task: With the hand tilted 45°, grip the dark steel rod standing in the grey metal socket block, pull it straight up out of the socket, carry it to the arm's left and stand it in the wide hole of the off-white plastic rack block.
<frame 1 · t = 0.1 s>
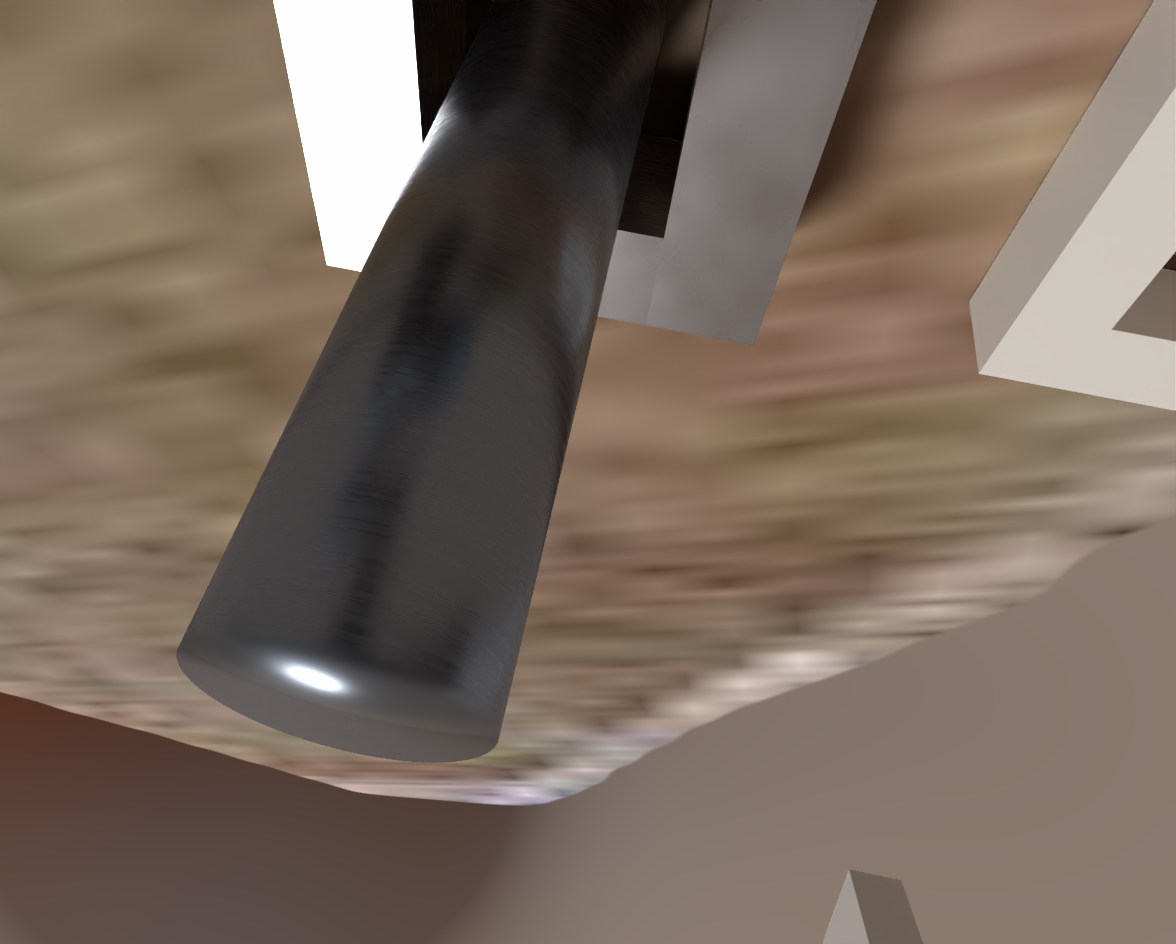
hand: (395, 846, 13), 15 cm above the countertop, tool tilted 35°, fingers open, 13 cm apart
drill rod: (502, 244, 13), in the socket block
socket block: (584, 11, 18), on the countertop
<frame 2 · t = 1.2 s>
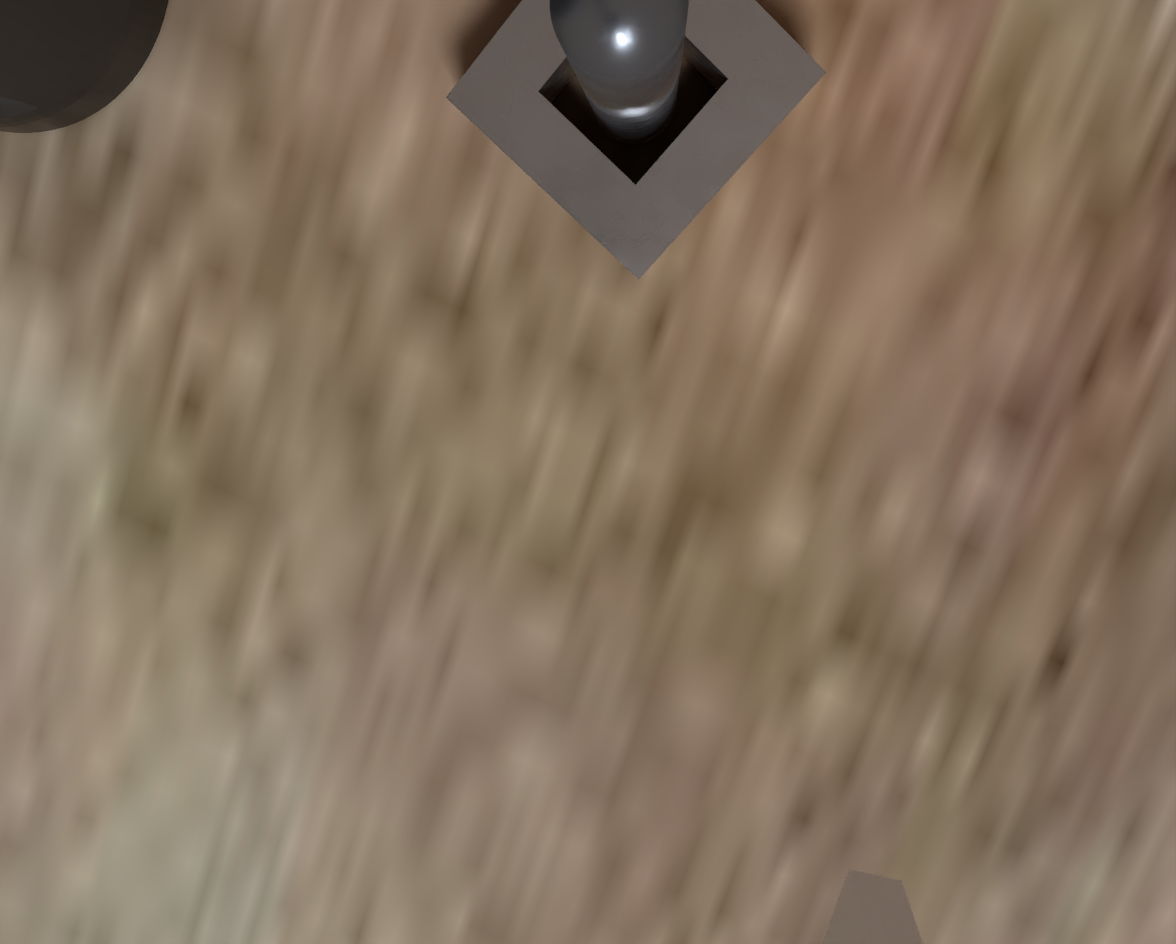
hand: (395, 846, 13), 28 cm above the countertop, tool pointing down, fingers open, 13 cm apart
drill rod: (628, 63, 28), in the socket block
socket block: (634, 99, 35), on the countertop
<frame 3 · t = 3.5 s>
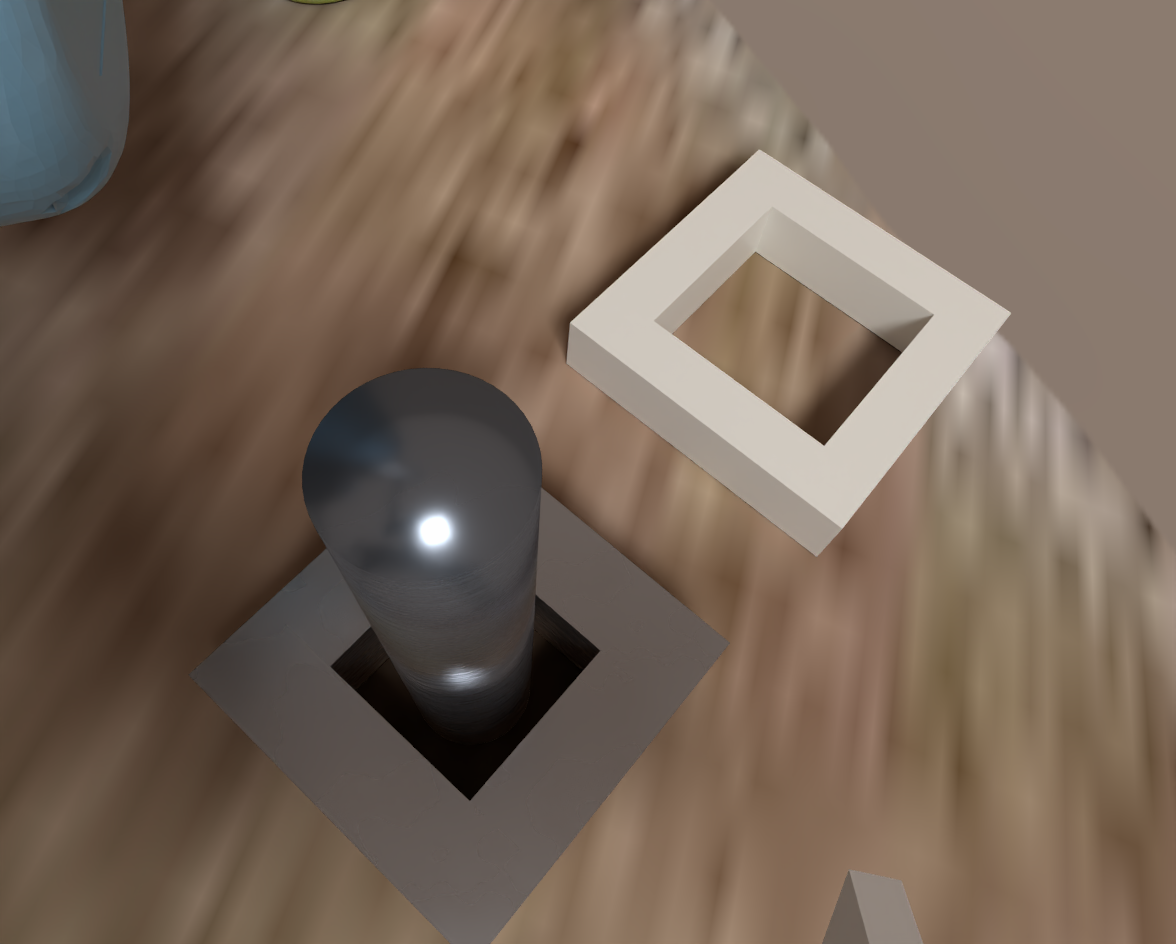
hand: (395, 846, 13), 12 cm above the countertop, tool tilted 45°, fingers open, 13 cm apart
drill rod: (457, 615, 19), in the socket block
rack block: (776, 357, 32), on the countertop
socket block: (473, 686, 26), on the countertop
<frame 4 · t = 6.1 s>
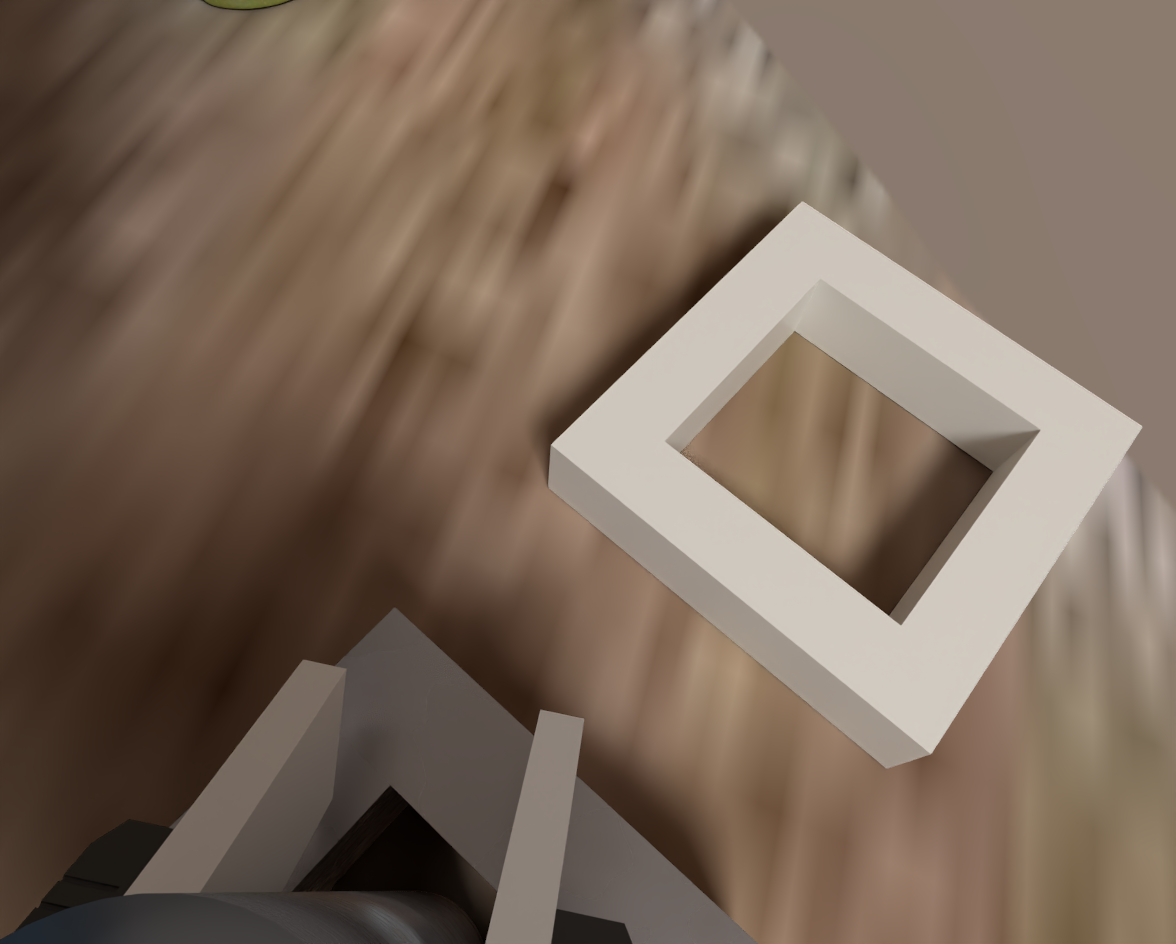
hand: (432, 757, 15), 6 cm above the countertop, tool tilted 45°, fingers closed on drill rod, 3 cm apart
rack block: (825, 477, 24), on the countertop
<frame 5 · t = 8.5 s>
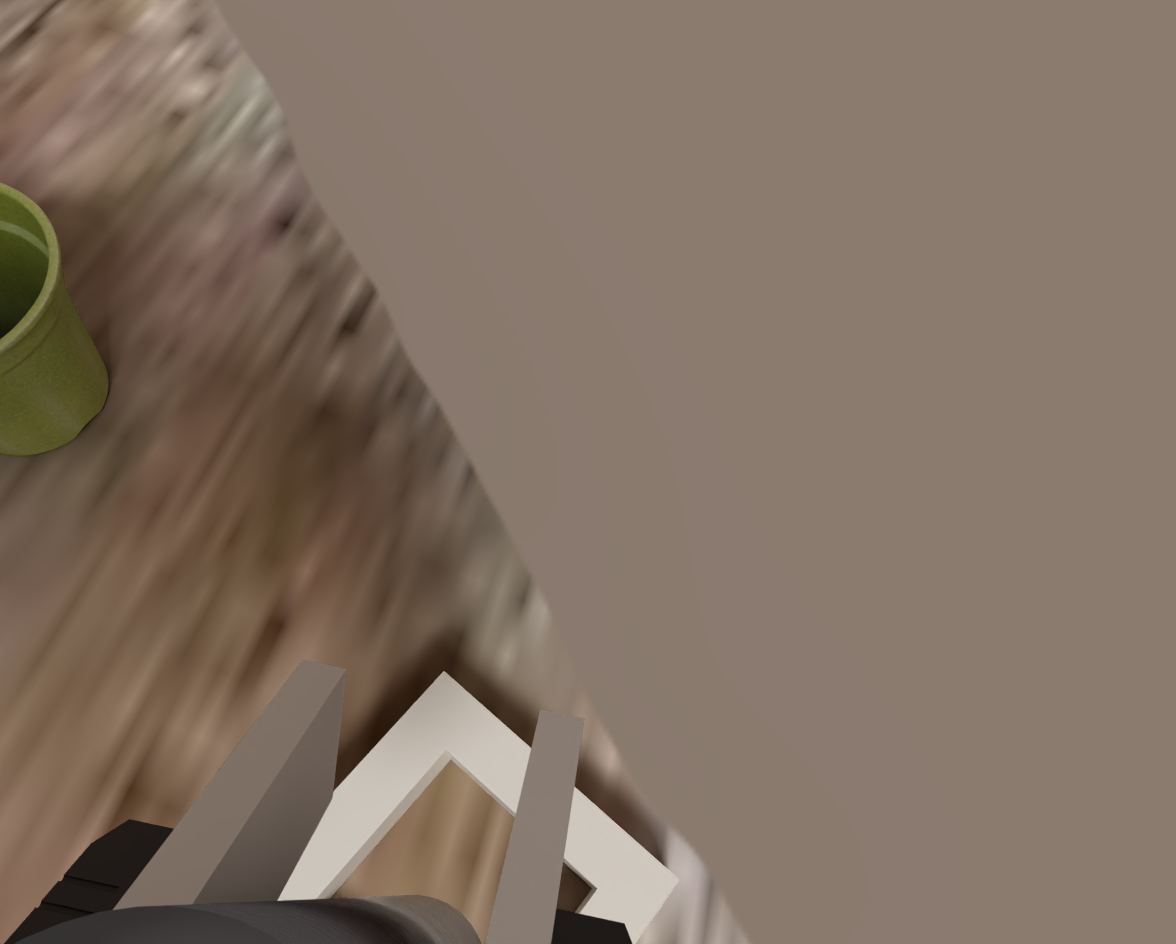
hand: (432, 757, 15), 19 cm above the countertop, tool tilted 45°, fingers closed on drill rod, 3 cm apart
plant pot: (40, 400, 39), on the countertop
rack block: (454, 903, 31), on the countertop
when the fingers open (7 cm above the countertop, at t = 11.2 s): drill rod stays where it is, resting in rack block.
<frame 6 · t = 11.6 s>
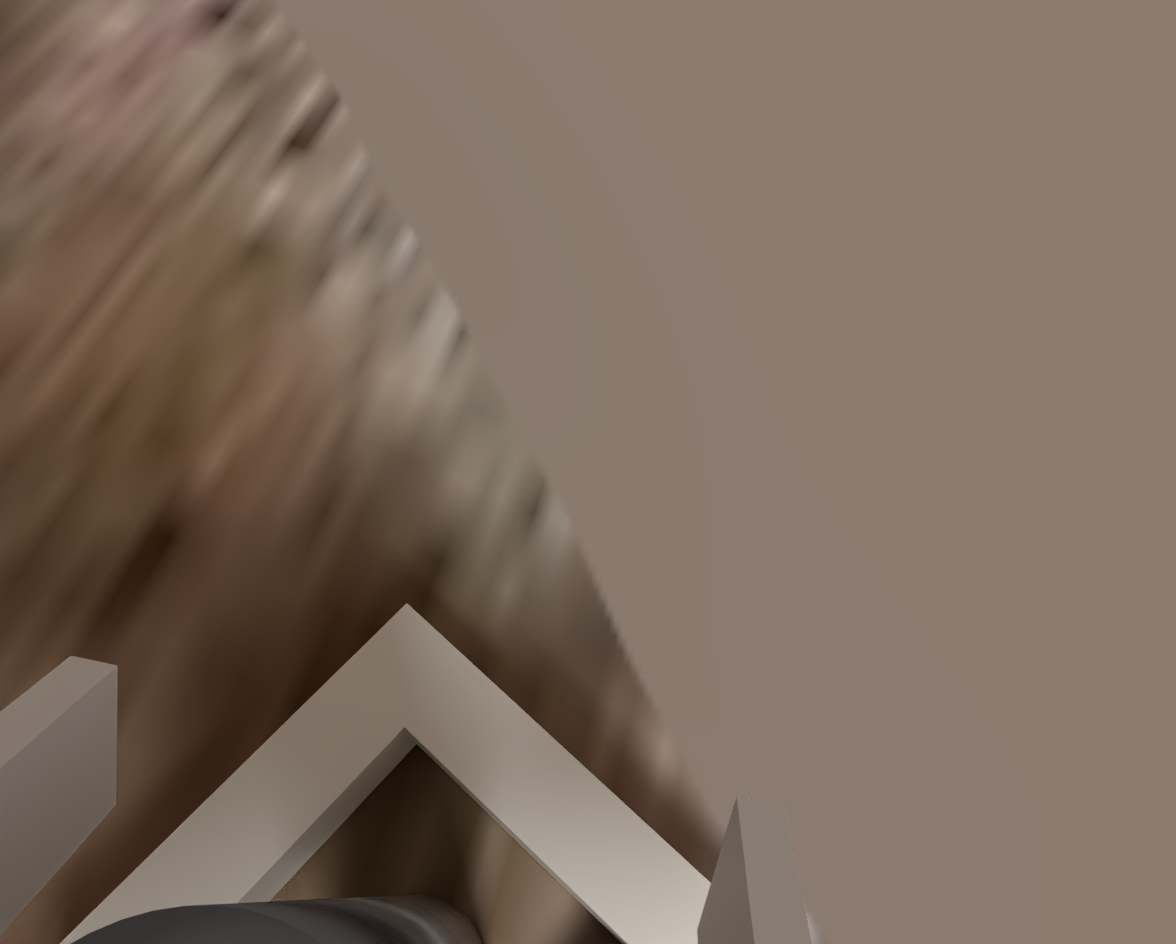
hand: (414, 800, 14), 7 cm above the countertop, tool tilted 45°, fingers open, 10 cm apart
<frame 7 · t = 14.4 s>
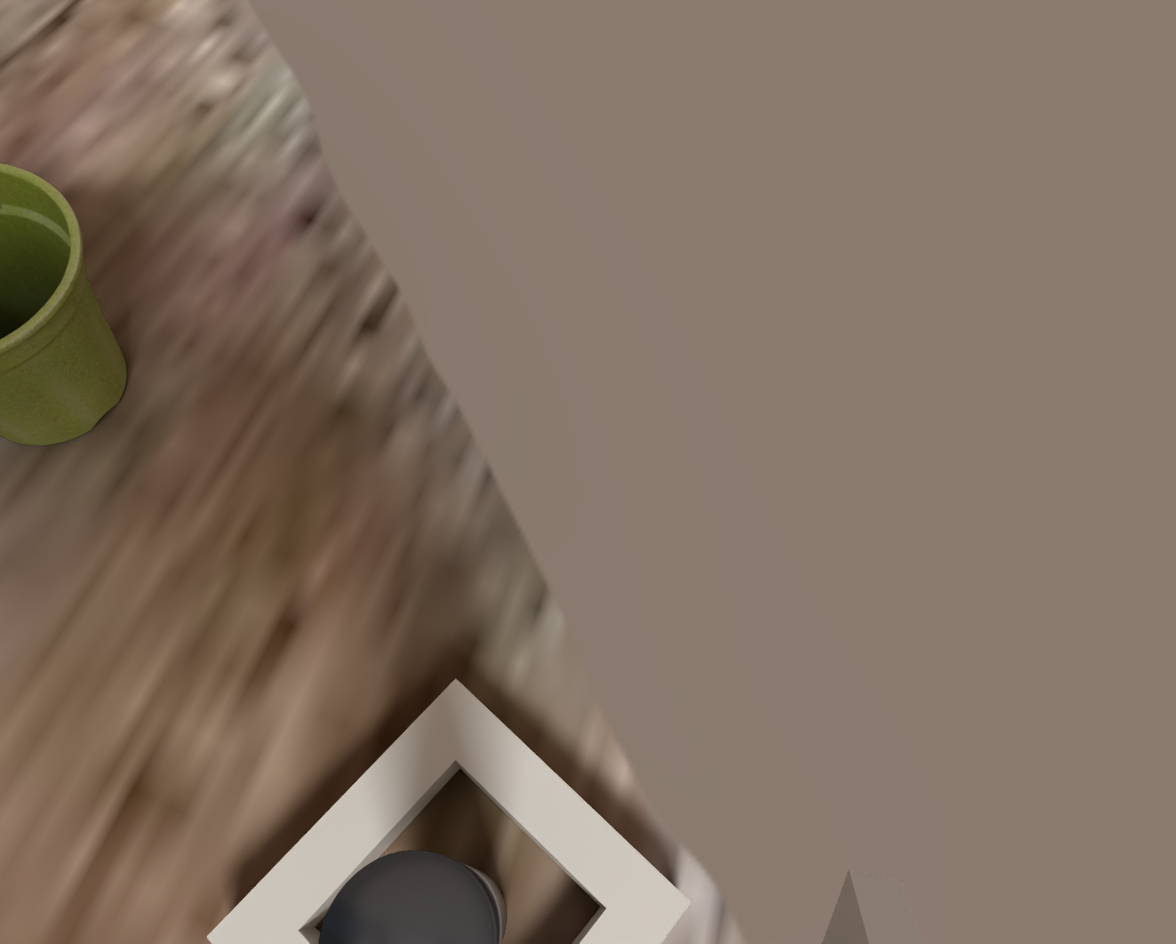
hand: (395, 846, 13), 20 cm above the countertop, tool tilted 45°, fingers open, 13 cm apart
plant pot: (58, 390, 38), on the countertop
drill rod: (439, 929, 23), in the rack block
rack block: (459, 916, 30), on the countertop
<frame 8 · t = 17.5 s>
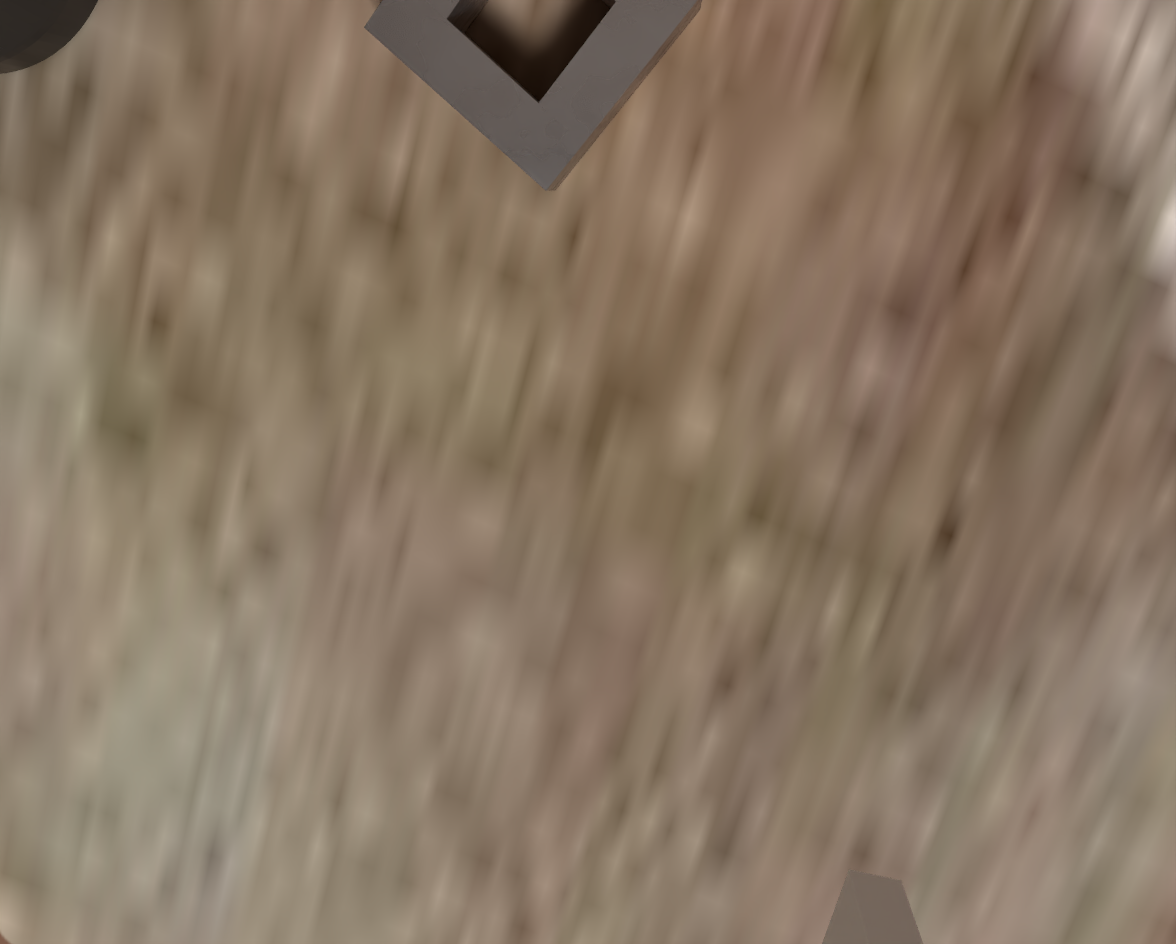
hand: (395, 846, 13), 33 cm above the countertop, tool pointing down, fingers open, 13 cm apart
socket block: (541, 25, 39), on the countertop
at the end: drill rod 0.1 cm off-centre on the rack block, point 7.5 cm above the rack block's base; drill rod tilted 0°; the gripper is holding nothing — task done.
